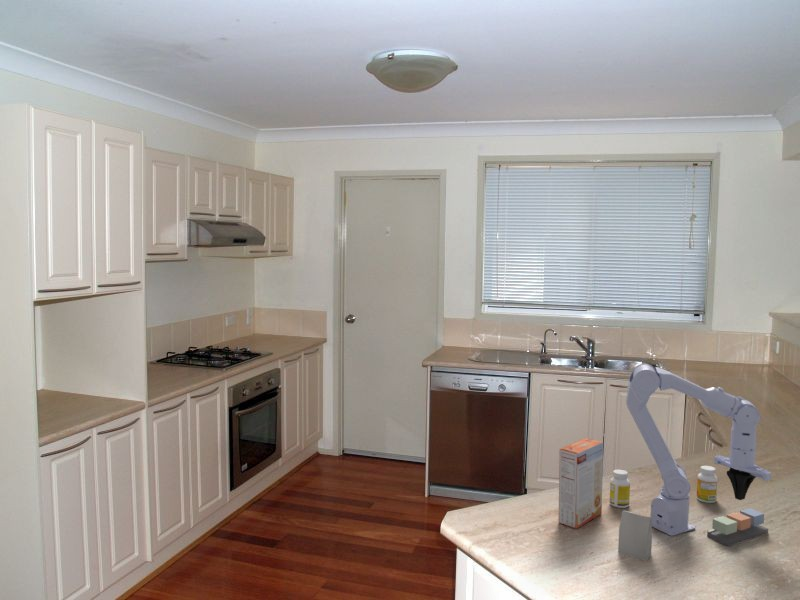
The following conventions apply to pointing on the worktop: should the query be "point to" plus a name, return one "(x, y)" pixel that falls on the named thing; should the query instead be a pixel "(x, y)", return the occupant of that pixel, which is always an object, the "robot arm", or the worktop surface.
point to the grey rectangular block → (635, 535)
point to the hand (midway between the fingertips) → (739, 498)
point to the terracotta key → (740, 520)
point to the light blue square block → (754, 516)
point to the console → (737, 535)
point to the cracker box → (580, 482)
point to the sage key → (724, 525)
